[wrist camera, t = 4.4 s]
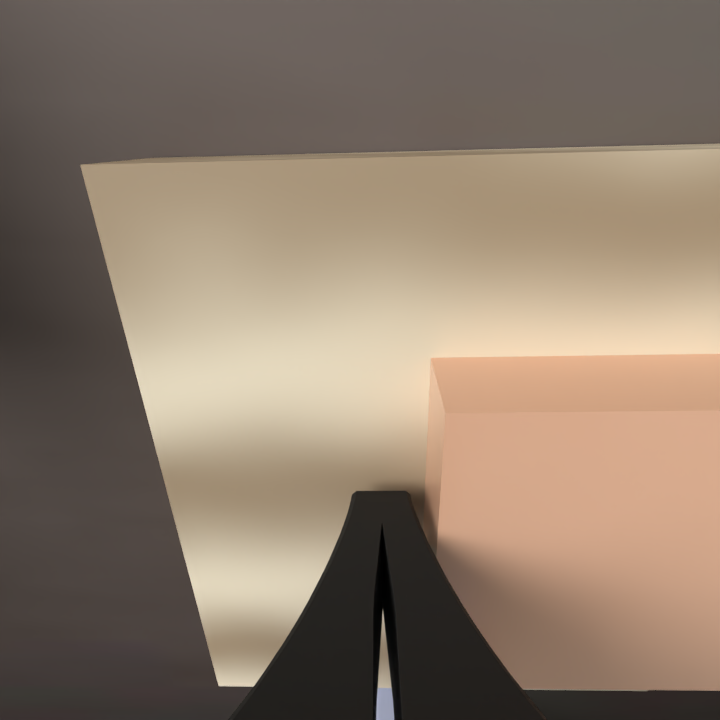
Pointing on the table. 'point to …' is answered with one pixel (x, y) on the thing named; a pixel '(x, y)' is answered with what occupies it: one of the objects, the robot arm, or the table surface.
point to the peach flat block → (582, 514)
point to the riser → (370, 327)
